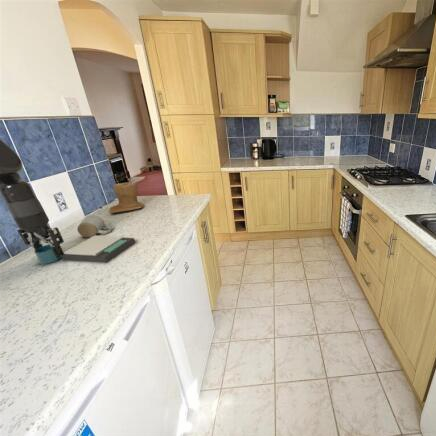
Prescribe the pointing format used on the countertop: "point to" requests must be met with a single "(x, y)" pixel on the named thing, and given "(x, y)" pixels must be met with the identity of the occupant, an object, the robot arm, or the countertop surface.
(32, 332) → the countertop surface
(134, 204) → the brown upright piece
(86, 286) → the countertop surface
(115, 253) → the scale
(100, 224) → the ceramic mug
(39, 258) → the bowl
